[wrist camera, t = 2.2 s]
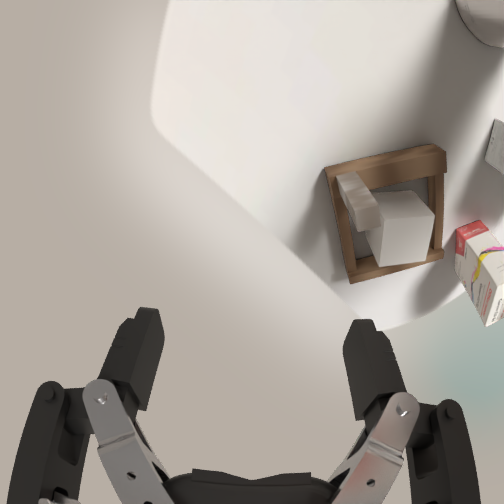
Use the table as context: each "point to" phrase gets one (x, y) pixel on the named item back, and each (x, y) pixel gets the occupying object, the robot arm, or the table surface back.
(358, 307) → the table surface
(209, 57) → the table surface
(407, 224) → the white cube
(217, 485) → the robot arm
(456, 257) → the ink cartridge box
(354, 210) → the pull frame
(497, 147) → the skincare box
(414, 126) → the table surface
